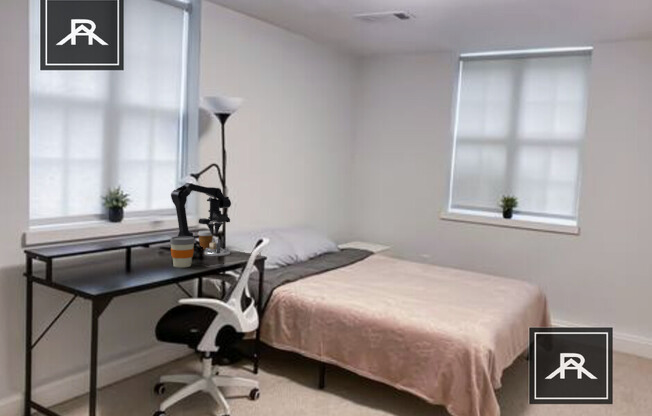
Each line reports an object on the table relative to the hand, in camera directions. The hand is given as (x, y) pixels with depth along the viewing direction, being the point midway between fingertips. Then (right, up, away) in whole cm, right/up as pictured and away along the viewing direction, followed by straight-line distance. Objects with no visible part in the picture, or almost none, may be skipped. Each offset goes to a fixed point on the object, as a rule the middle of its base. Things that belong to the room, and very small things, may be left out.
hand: (214, 234), depth 313 cm
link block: (0, -9, +1) cm, 9 cm away
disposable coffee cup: (-8, -11, +13) cm, 19 cm away
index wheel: (+2, -11, -2) cm, 11 cm away
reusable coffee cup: (-11, -15, -31) cm, 36 cm away
